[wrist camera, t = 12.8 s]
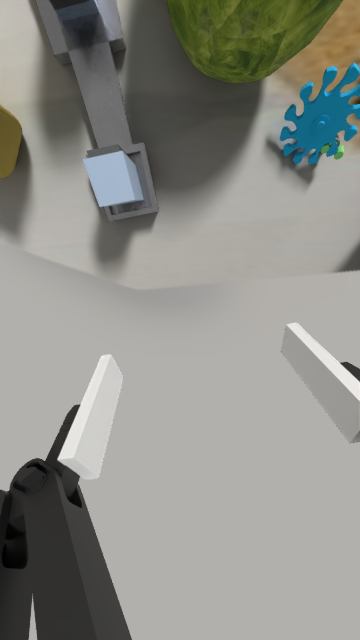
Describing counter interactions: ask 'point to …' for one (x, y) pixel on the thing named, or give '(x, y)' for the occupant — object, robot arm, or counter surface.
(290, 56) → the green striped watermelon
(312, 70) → the counter surface
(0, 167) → the flower pot
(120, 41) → the grey piece
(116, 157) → the blue block
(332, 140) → the blue splash shape
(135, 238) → the counter surface
